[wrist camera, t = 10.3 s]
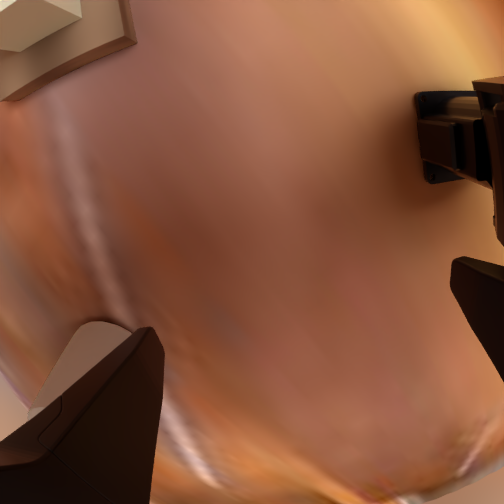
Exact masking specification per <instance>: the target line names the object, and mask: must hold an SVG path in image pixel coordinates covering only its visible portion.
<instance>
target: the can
mask: <svg viewBox="0 0 504 504" xmlns="http://www.w3.org/2000/svg"><path fill="white" fill-rule="evenodd" d="M131 334H132V333H130V332H129V331H128V330H126V329H124V328H122V327H120V326H118V325H115V324H111V323H107V322H103V321H99V322H89V323H86V324H84V325H81V326H80V327H79V329H78V330H77V331H76V332H75V333H74V335H73V336H72V338H71V340H70V341H69V343H68V344H67V346H66V348H65V349H64V351H63V352H62V354H61V356H60V357H59V359H58V361H57V362H56V364H55V366H54V367H53V369H52V371H51V372H50V374H49V376H48V378H47V379H46V381H45V383H44V384H43V386H42V388H41V390H40V391H39V393H38V395H37V397H36V399H35V400H34V402H33V404H32V406H31V408H30V410H29V412H28V421H29V420H30V419H32V418H33V417H34V416H35V415H37V414H38V413H39V412H41V411H42V410H43V409H44V408H45V407H47V406H48V405H49V404H50V403H51V402H53V401H54V400H55V399H56V398H57V397H58V396H60V395H62V393H63V392H64V391H66V390H67V389H68V388H69V387H70V386H71V385H73V384H74V383H75V382H76V381H77V380H78V379H80V378H81V377H82V376H83V375H84V374H85V373H87V372H88V371H89V370H90V369H91V368H92V367H94V366H95V365H96V364H97V363H98V362H100V361H101V360H102V359H103V358H104V357H105V356H107V355H108V354H109V353H110V352H111V351H112V350H114V349H115V348H116V347H117V346H118V345H120V344H121V343H122V342H123V341H124V340H126V339H127V338H128V337H129V336H130V335H131Z"/></svg>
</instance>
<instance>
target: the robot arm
mask: <svg viewBox="0 0 504 504" xmlns="http://www.w3.org/2000/svg"><path fill="white" fill-rule="evenodd" d="M472 84H473V88H474V90H475V91H426V92H417V93H416V95H415V103H416V109H417V115H418V122H417V127H418V135H419V143H420V152H421V158H422V159H423V167H424V178H425V180H426V182H428V183H430V184H437V183H442V182H448V181H454V180H460V179H468V180H470V181H473V182H475V183H477V184H480V185H482V186H484V187H487V188H489V189H491V190H493V200H494V216H493V225H494V226H495V230H496V235H497V239H498V240H499V241H500V242H501V244H502V245H503V246H504V76H501V77H494V78H487V79H480V80H474V81H472ZM421 96H423V98H424V101H423V102H422V101H421ZM431 174H433V177H432V179H430V175H431ZM450 288H451V291H452V293H453V294H454V296H455V298H456V300H457V302H458V304H459V306H460V307H461V309H462V311H463V313H464V315H465V317H466V319H467V321H468V323H469V325H470V326H471V328H472V330H473V331H474V333H475V335H476V336H477V338H478V339H479V341H480V343H481V344H482V346H483V348H484V349H485V351H486V352H487V354H488V356H489V357H490V359H491V361H492V363H493V364H494V366H495V368H496V369H497V371H498V373H499V375H500V377H501V378H502V380H503V382H504V266H501V265H497V264H493V263H489V262H485V261H481V260H478V259H474V258H470V257H466V256H462V257H459V258H456V259H454V260H453V261H452V264H451V277H450ZM164 359H165V353H164V348H163V346H162V344H161V342H160V340H159V338H158V336H157V334H156V332H155V330H154V328H153V327H143V328H139V329H137V330H136V331H135V332H134V333H133V334H131V335H130V336H129V337H128V338H127V339H126V340H124V341H123V342H122V343H121V344H120V345H118V346H117V347H116V348H115V349H114V350H112V351H111V352H110V353H109V354H108V355H107V356H105V357H104V358H103V359H102V360H101V361H100V362H98V363H97V364H96V365H95V366H94V367H92V368H91V369H90V370H89V371H88V372H87V373H85V374H84V375H83V376H82V377H81V378H80V379H78V380H77V381H76V382H75V383H74V384H73V385H71V386H70V387H69V388H68V389H67V390H66V391H64V392H63V393H62V395H60V396H58V397H57V398H56V399H55V400H54V401H53V402H51V403H50V404H49V405H48V406H47V407H45V408H44V409H43V410H42V411H41V412H39V413H38V414H37V415H35V416H34V417H33V418H32V419H30V420H29V421H28V422H26V423H25V424H24V425H22V426H21V427H20V428H18V429H17V430H16V431H14V432H13V433H11V434H10V435H9V436H7V437H6V438H5V439H3V440H2V441H0V504H149V501H150V492H151V482H152V474H153V465H154V457H155V449H156V442H157V434H158V427H159V420H160V413H161V407H162V399H163V381H164Z"/></svg>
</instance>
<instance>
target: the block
mask: <svg viewBox="0 0 504 504" xmlns="http://www.w3.org/2000/svg"><path fill="white" fill-rule="evenodd" d="M81 18H82V14H81V5H80V0H0V49H1V50H9V51H16V52H21V51H23V50H24V49H26V48H28V47H29V46H31V45H33V44H34V43H36V42H38V41H39V40H41V39H43V38H45V37H46V36H48V35H50V34H52V33H54V32H56V31H57V30H59V29H61V28H63V27H65V26H67V25H69V24H71V23H73V22H75V21H77V20H79V19H81Z"/></svg>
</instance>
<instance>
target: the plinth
mask: <svg viewBox="0 0 504 504" xmlns="http://www.w3.org/2000/svg"><path fill="white" fill-rule="evenodd" d="M80 5H81V14H82V18H81V19H79V20H77V21H75V22H73V23H71V24H69V25H67V26H65V27H63V28H61V29H59V30H57V31H56V32H54V33H52V34H50V35H48V36H46V37H45V38H43V39H41V40H39V41H38V42H36V43H34V44H33V45H31V46H29V47H28V48H26V49H24V50H23V51H21V52H16V51H9V50H1V49H0V101H14V100H21V99H22V98H24V97H26V96H27V95H29V94H31V93H32V92H34V91H36V90H38V89H39V88H41V87H43V86H45V85H46V84H48V83H50V82H52V81H54V80H56V79H58V78H59V77H61V76H63V75H65V74H67V73H69V72H71V71H73V70H75V69H77V68H79V67H82V66H84V65H86V64H88V63H90V62H92V61H95V60H97V59H99V58H101V57H104V56H106V55H109V54H111V53H113V52H116V51H118V50H121V49H123V48H126V47H129V46H131V45H134V44H137V39H136V34H135V29H134V24H133V19H132V14H131V8H130V3H129V0H80Z"/></svg>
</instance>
